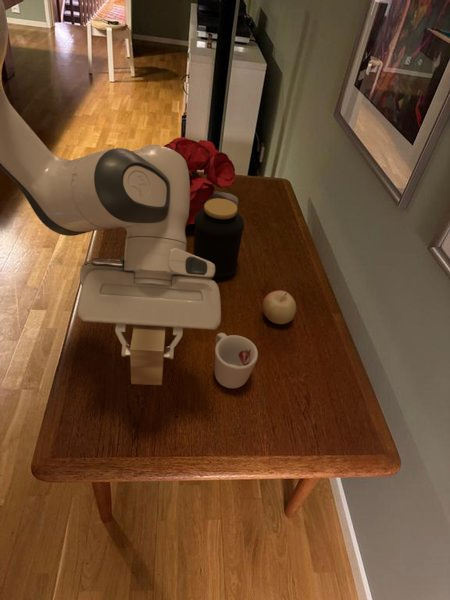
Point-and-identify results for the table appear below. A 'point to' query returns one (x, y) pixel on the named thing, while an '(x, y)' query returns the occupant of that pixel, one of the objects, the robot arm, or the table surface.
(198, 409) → the table surface
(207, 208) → the container
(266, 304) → the fruit
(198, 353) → the table surface
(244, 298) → the table surface
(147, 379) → the plain beige block
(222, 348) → the cup
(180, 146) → the bouquet
